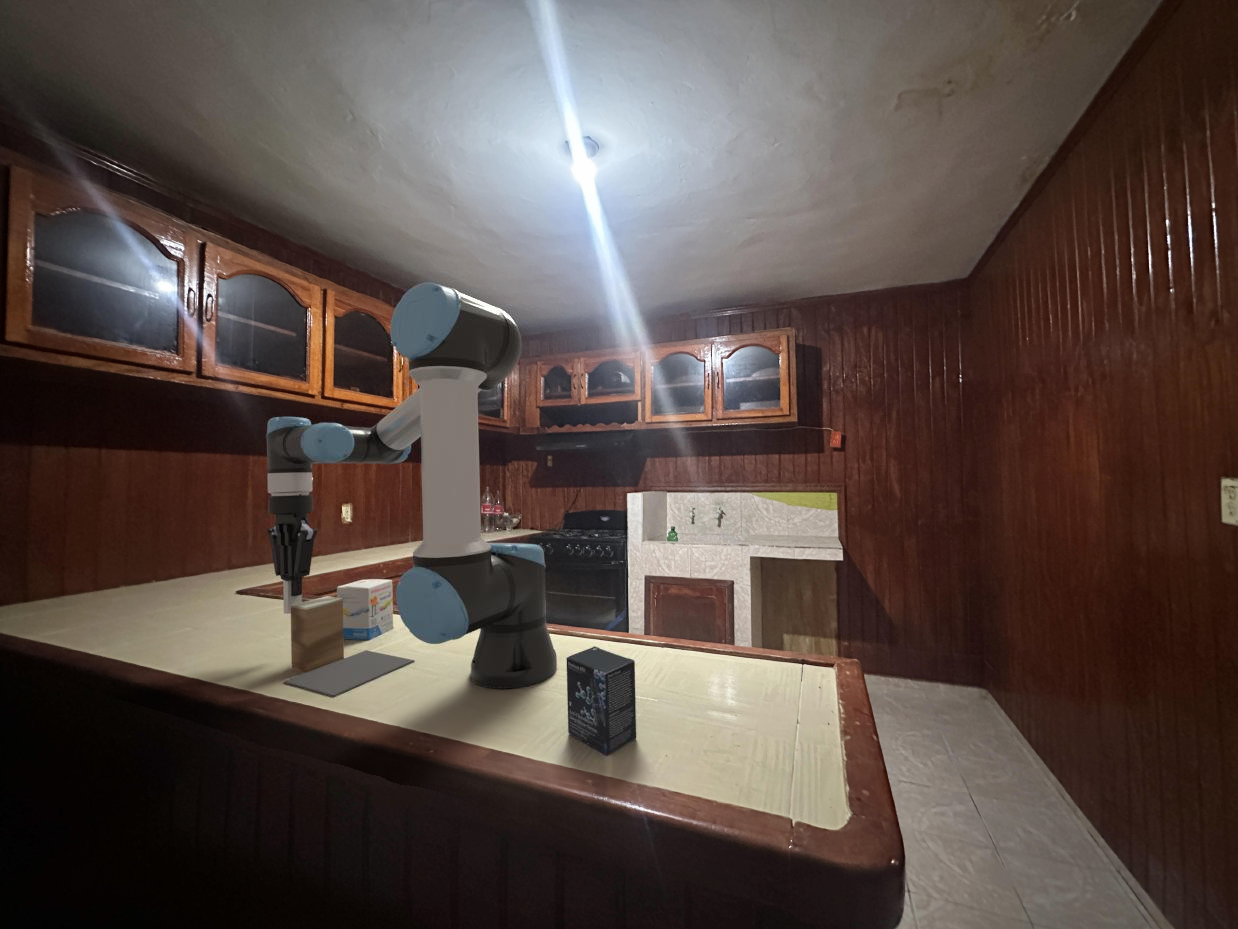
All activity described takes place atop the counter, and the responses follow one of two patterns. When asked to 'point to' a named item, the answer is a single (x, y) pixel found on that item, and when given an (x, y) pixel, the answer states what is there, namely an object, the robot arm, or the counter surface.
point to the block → (316, 633)
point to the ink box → (366, 608)
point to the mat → (348, 673)
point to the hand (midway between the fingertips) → (293, 611)
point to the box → (601, 699)
